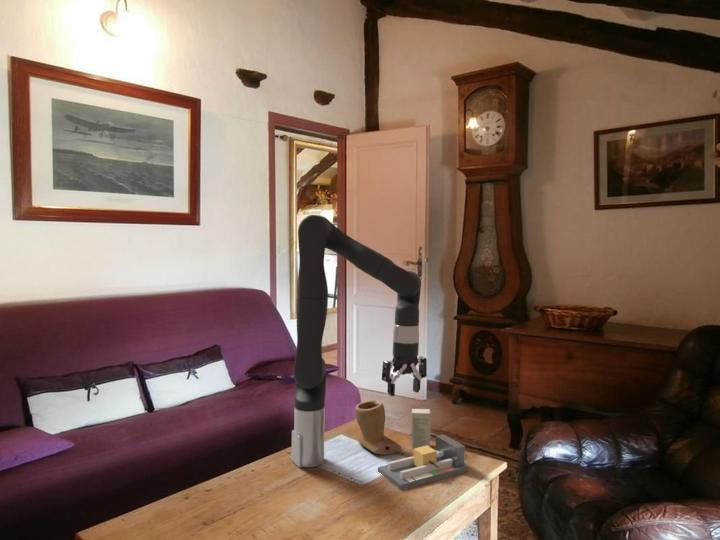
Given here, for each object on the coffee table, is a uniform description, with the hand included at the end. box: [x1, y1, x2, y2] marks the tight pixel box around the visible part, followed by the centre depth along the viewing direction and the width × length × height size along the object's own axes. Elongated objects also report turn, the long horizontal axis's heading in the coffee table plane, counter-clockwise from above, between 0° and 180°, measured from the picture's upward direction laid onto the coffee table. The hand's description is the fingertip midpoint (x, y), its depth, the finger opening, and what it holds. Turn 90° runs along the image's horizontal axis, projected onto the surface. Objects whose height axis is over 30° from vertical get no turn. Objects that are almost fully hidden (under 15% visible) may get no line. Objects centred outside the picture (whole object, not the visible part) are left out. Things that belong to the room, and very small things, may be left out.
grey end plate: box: [435, 434, 466, 468], centre depth 159 cm, size 3×10×6 cm, turn 29°
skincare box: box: [411, 408, 431, 450], centre depth 172 cm, size 6×4×12 cm
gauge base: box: [377, 451, 469, 491], centre depth 155 cm, size 24×12×4 cm, turn 119°
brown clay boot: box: [354, 399, 403, 456], centre depth 171 cm, size 15×12×15 cm
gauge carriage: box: [412, 446, 444, 468], centre depth 154 cm, size 9×9×5 cm
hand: (403, 393), depth 154 cm, fingers open, 8 cm apart
